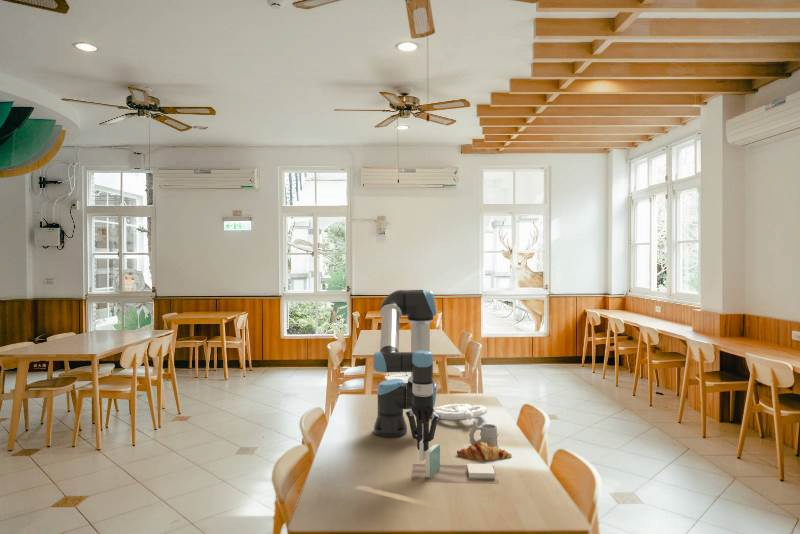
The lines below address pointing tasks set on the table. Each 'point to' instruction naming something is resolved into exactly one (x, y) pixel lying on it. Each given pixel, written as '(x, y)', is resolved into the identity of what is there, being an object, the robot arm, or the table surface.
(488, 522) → the table surface
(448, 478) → the board
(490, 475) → the tile
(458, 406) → the white flat coiled piece
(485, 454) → the croissant
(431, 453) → the tile
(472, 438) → the mug
